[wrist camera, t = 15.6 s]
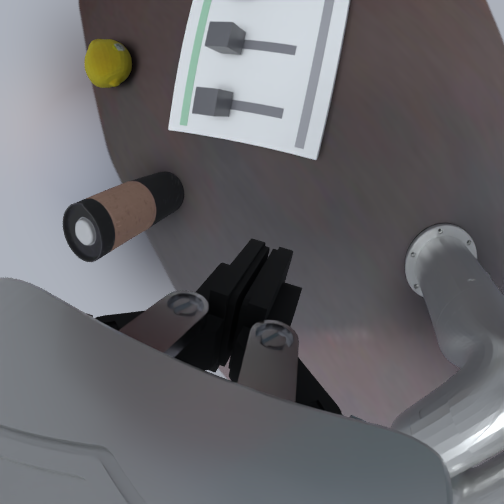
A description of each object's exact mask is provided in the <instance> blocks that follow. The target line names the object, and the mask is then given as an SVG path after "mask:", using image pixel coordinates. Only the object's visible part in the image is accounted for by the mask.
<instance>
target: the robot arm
mask: <svg viewBox="0 0 504 504" xmlns="http://www.w3.org/2000/svg"><path fill="white" fill-rule="evenodd" d="M439 229H440V230H439ZM438 230H439V231H438ZM467 241H468V242H467ZM412 252H413V253H412ZM268 254H269V247H266V246H265V242H262V241H259V240H255V239H251V240H250V241H249V242H248V244H247V245H246V246H245V247H244V249H243V250H242V251H241V252H240V253H239V255H238V256H237V257H236V258H235V260H234V261H233V262H232V263H231V265H228V264H225V263H221V264H220V265H219V266H218V267H217V268H216V269H215V270H214V272H213V273H212V274H211V275H210V276H209V277H208V278H207V280H206V281H205V282H204V283H203V284H202V285H201V286H200V288H199V289H198V290H197V291H196V292H193V291H187V290H180V291H175V292H172V293H170V294H168V295H166V296H165V297H164V298H162V299H161V300H159V301H158V302H157V303H156V304H154V305H153V306H151V307H150V308H148V309H147V310H146V311H139V312H131V313H122V314H114V315H105V316H100V317H97V318H93V315H90V314H86V313H84V312H82V311H80V310H79V309H77V308H75V307H73V306H72V305H70V304H68V303H66V302H65V301H63V300H61V299H59V298H58V297H56V296H54V295H52V294H51V293H49V292H47V291H45V290H43V289H42V288H40V287H37V286H35V285H33V284H31V283H28V282H25V281H22V280H18V279H13V278H0V504H504V451H503V452H501V453H500V454H498V455H496V456H495V457H493V458H491V459H490V460H488V461H486V462H484V463H483V464H481V465H479V466H477V467H474V468H472V467H473V466H475V465H477V464H478V463H480V462H482V461H484V460H487V459H488V458H490V457H491V456H493V455H495V454H497V453H498V452H500V451H501V450H502V449H504V296H503V295H502V293H501V292H500V290H499V289H498V288H497V286H496V285H495V283H494V282H493V281H492V279H491V278H490V274H489V273H487V272H486V271H485V270H484V268H483V267H482V266H481V264H480V263H479V262H478V261H477V251H476V246H475V244H474V241H473V240H472V238H471V237H470V235H469V234H468V233H467V232H466V231H465V230H463V229H462V228H461V227H458V226H456V225H453V224H447V223H446V224H437V225H433V226H431V227H429V228H427V229H425V230H424V231H423V232H421V233H420V234H419V235H418V236H417V237H416V238H415V239H414V240H413V242H412V243H411V245H410V247H409V249H408V251H407V254H406V258H405V266H404V267H405V274H406V278H407V281H408V283H409V285H410V287H411V288H412V290H413V291H415V292H416V293H417V294H418V295H420V296H421V297H423V298H424V299H425V302H426V305H427V308H428V311H429V314H430V317H431V321H432V324H433V327H434V330H435V334H436V337H437V341H438V344H439V347H440V350H441V352H442V353H443V355H444V356H445V357H446V359H447V360H448V361H450V362H451V363H452V364H454V365H456V366H457V367H460V368H461V369H460V370H459V371H458V372H457V373H455V374H454V375H453V376H452V377H450V378H449V380H447V381H446V382H445V383H443V384H442V385H441V386H439V387H438V388H436V389H435V390H434V391H432V392H431V393H429V394H428V395H427V396H425V397H424V398H422V399H421V400H419V401H418V402H417V403H415V404H414V405H412V406H411V407H409V408H408V409H406V410H405V411H404V412H402V413H401V414H400V415H399V416H398V417H397V418H396V419H395V421H394V422H393V424H392V426H391V428H388V427H385V426H382V425H378V424H374V423H370V422H367V421H364V420H362V419H360V418H357V417H355V416H353V415H350V417H346V416H344V415H342V413H341V410H340V409H339V407H338V405H337V404H336V403H335V402H334V401H333V399H332V398H331V397H330V396H329V395H328V393H327V392H326V391H325V390H324V388H323V387H322V386H321V385H320V384H319V382H318V381H317V380H316V379H315V377H314V376H313V375H312V374H311V372H310V371H309V370H308V369H307V368H306V366H305V365H304V364H303V363H302V361H301V360H300V359H299V358H298V347H299V340H298V335H297V334H296V332H295V331H294V330H293V329H292V328H291V327H290V326H291V323H292V320H293V316H294V313H295V310H296V307H297V303H298V300H299V297H300V293H301V290H302V288H300V287H297V286H294V285H291V284H288V283H285V280H286V276H287V272H288V269H289V265H290V262H291V258H292V254H293V251H292V250H288V249H285V248H282V247H279V249H278V250H276V249H273V250H272V252H271V254H270V255H269V257H268ZM267 258H268V259H267ZM415 284H416V285H415ZM230 356H231V357H230ZM229 357H230V362H229V369H230V372H229V377H230V379H231V381H230V380H227V379H225V378H222V377H219V376H217V375H214V374H212V373H209V372H207V371H205V370H210V371H212V372H216V370H217V369H218V367H219V365H221V366H225V365H226V363H227V361H228V359H229Z"/></svg>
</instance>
